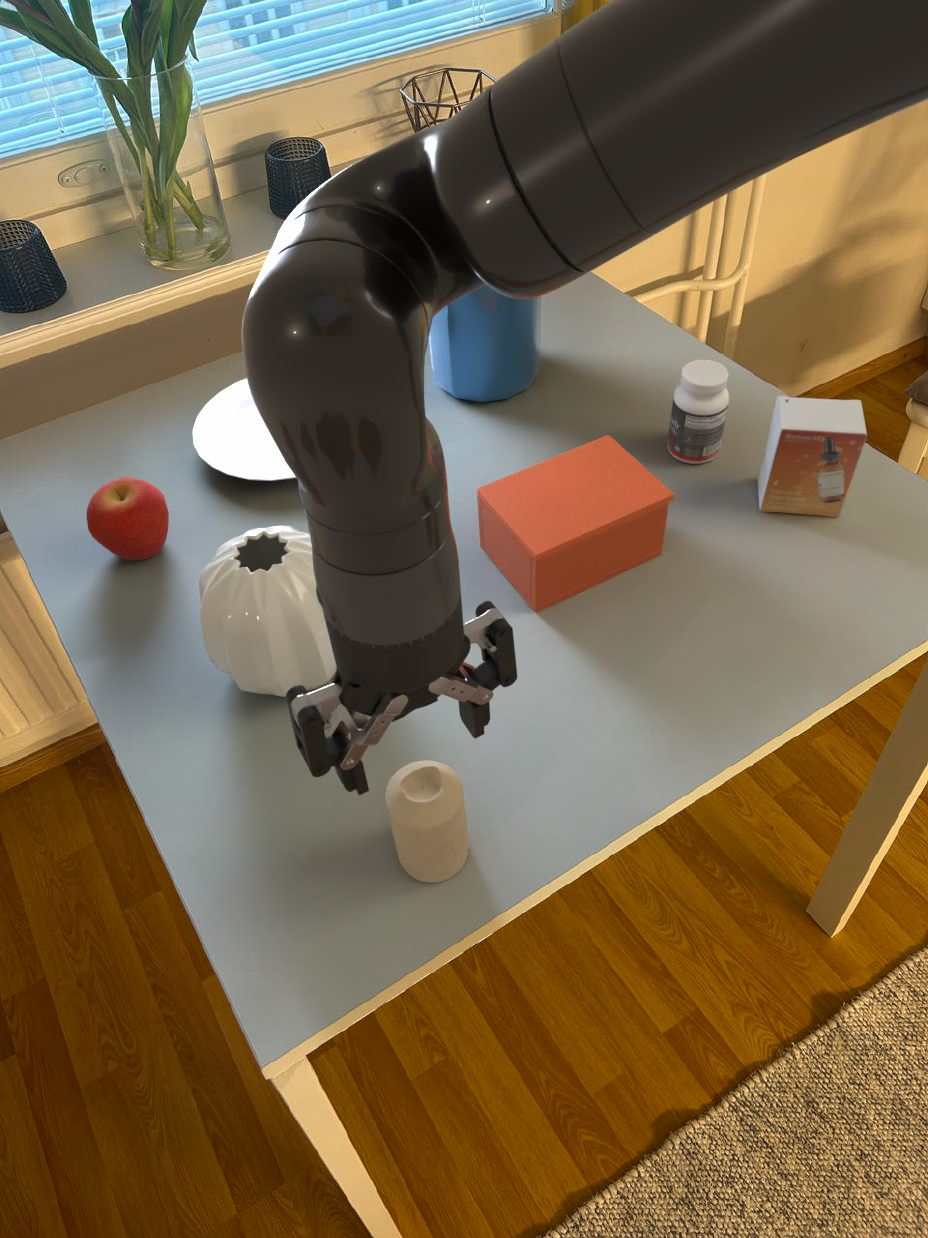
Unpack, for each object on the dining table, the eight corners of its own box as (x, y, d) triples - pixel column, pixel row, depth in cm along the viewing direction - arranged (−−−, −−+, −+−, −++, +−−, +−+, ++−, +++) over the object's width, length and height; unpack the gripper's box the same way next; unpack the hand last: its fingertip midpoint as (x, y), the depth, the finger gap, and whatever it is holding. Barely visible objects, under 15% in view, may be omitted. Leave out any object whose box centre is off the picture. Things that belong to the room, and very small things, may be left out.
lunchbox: (600, 494, 98) (603, 442, 93) (661, 554, 92) (669, 502, 87) (479, 546, 94) (476, 495, 89) (535, 613, 88) (535, 562, 83)
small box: (758, 513, 95) (778, 428, 87) (756, 477, 99) (775, 393, 91) (840, 518, 94) (869, 434, 86) (835, 482, 97) (862, 398, 90)
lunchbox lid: (608, 440, 93) (608, 434, 93) (673, 500, 87) (674, 493, 86) (476, 494, 89) (476, 488, 88) (535, 561, 83) (535, 555, 82)
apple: (95, 575, 94) (66, 518, 88) (114, 522, 100) (88, 465, 94) (171, 572, 94) (147, 514, 88) (186, 519, 99) (164, 461, 93)
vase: (223, 608, 90) (185, 504, 80) (366, 593, 91) (346, 488, 81) (210, 725, 81) (165, 623, 71) (370, 708, 81) (347, 605, 71)
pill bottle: (666, 431, 104) (676, 354, 97) (718, 434, 104) (732, 356, 96) (666, 464, 101) (677, 387, 93) (720, 467, 100) (735, 389, 93)
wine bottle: (511, 333, 119) (506, 76, 97) (559, 386, 111) (566, 120, 89) (412, 362, 116) (383, 104, 94) (454, 419, 108) (434, 152, 86)
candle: (435, 806, 75) (424, 735, 67) (483, 849, 72) (478, 781, 64) (383, 851, 72) (366, 783, 65) (431, 898, 70) (419, 833, 62)
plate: (412, 444, 105) (410, 428, 104) (244, 522, 98) (239, 506, 97) (324, 363, 117) (321, 347, 116) (169, 427, 110) (163, 411, 109)
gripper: (293, 691, 46) (342, 849, 58) (541, 580, 50) (537, 749, 62) (240, 595, 50) (296, 760, 62) (471, 500, 54) (481, 672, 66)
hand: (416, 754), depth 62 cm, fingers open, 8 cm apart
